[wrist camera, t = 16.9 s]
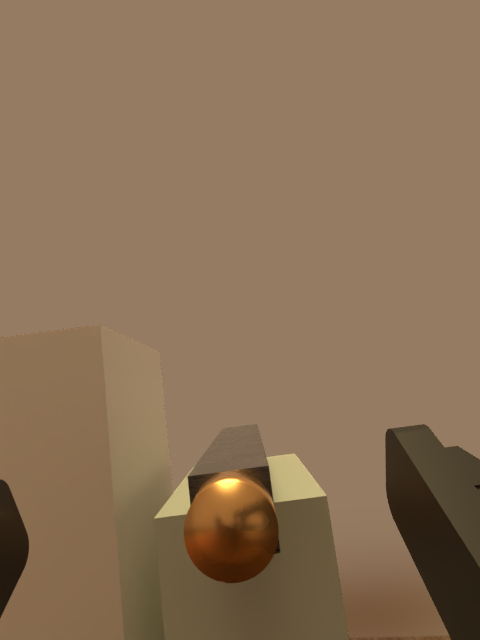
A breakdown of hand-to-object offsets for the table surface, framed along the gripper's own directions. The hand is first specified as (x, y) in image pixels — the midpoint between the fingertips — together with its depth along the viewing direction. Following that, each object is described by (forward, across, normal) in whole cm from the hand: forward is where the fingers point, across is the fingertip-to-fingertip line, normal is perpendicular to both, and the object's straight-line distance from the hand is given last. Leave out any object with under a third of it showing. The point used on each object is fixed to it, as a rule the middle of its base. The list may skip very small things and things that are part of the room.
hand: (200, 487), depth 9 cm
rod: (+14, 0, +12) cm, 18 cm away
